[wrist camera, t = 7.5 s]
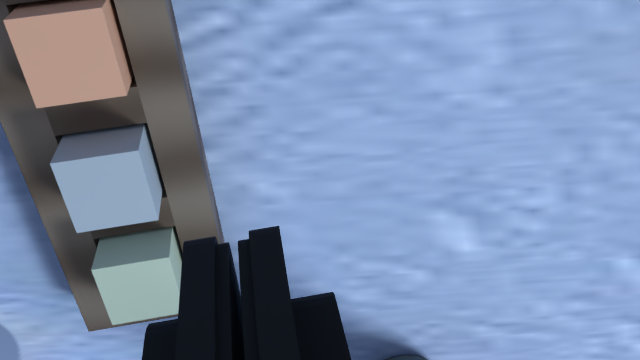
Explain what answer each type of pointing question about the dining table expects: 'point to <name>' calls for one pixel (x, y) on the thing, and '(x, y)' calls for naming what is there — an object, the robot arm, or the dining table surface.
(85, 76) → the terracotta button
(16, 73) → the console
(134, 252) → the sage button
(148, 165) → the slate button
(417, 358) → the bottle
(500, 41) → the dining table surface
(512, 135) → the dining table surface
